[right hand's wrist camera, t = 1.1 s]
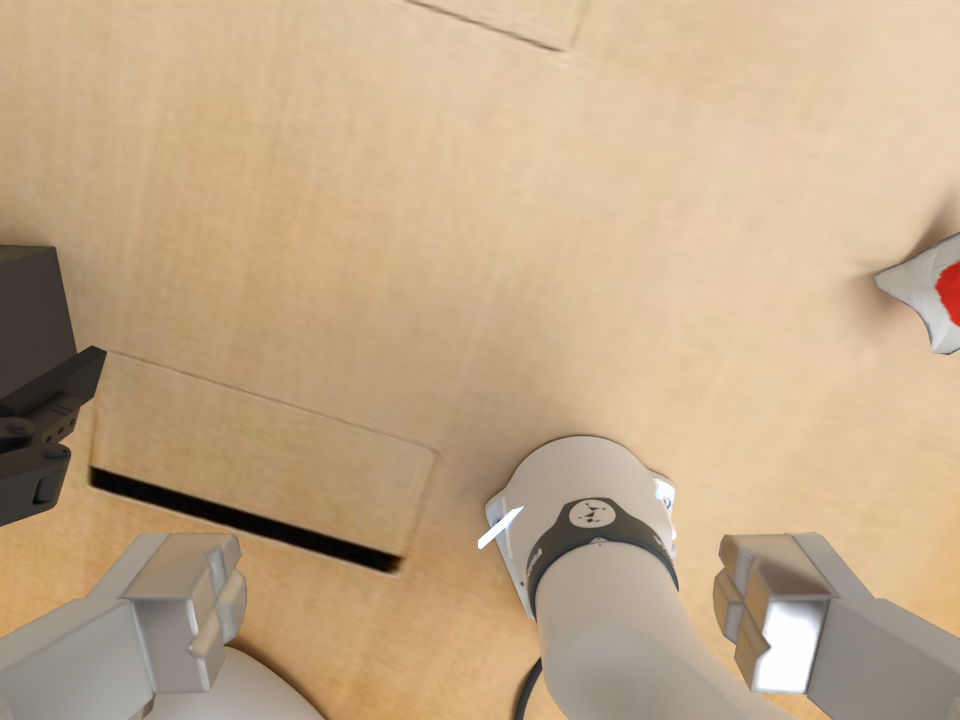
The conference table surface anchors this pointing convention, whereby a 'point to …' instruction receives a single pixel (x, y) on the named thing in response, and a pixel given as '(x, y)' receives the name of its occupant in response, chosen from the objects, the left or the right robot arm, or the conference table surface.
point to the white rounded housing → (234, 697)
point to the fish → (931, 291)
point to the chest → (31, 316)
